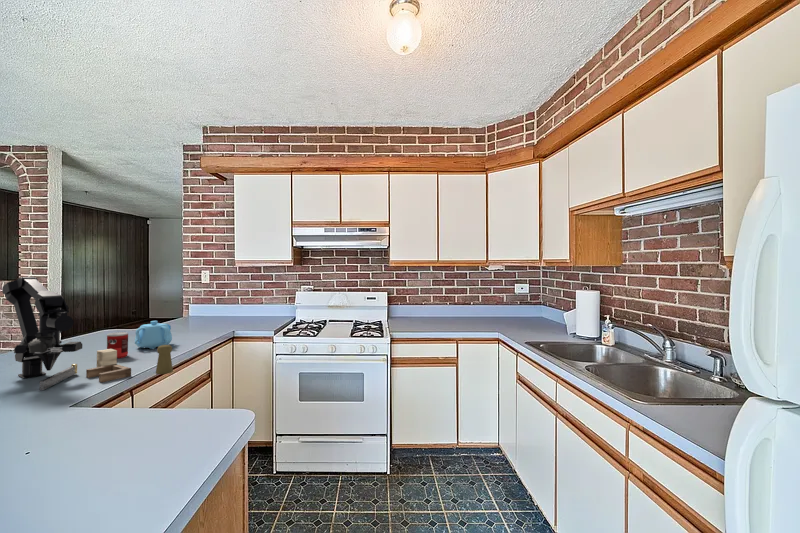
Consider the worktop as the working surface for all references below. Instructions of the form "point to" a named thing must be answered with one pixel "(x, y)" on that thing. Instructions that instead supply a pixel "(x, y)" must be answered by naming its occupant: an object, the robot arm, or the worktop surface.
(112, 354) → the birch block
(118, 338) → the canned food
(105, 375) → the walnut cradle
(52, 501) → the worktop surface
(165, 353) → the cork
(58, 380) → the bar
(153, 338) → the decorative pot
